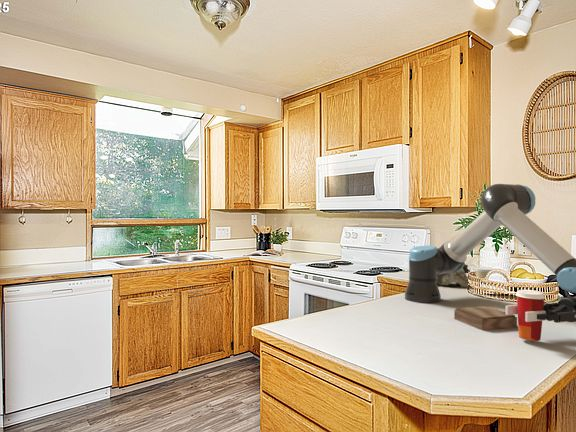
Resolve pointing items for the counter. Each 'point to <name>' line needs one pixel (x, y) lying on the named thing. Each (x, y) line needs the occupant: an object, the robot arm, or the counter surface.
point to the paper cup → (528, 303)
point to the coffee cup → (482, 271)
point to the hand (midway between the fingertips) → (516, 313)
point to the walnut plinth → (485, 318)
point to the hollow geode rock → (454, 277)
